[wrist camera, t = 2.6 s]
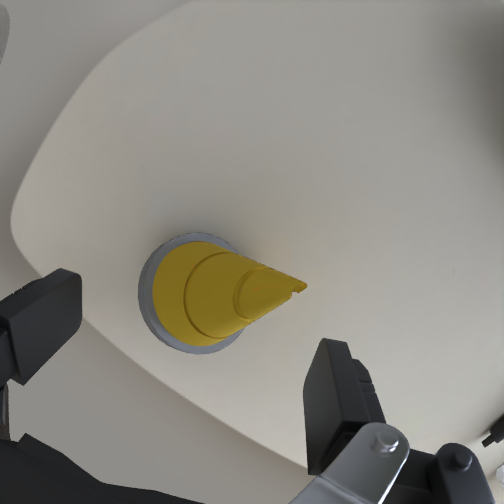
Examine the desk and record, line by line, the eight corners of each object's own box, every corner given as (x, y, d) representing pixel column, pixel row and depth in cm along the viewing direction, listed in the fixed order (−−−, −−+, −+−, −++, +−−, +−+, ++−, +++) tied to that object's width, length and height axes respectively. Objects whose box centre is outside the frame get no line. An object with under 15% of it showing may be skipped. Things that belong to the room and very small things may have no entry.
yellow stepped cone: (142, 230, 16) (253, 157, 9) (224, 266, 19) (368, 237, 11) (110, 327, 15) (196, 360, 7) (200, 355, 17) (344, 389, 9)
